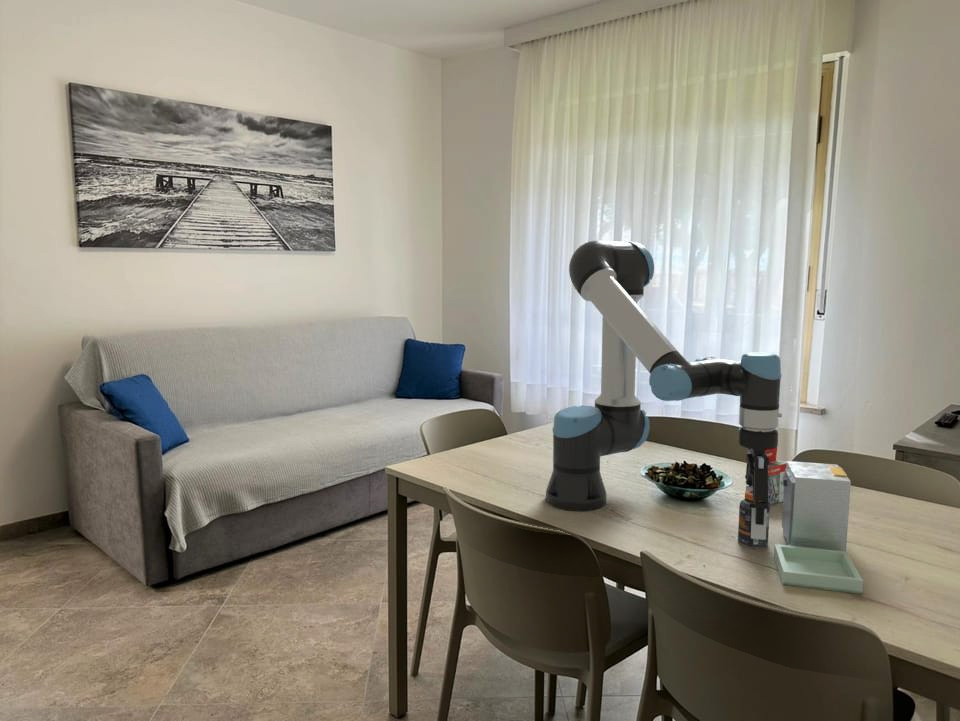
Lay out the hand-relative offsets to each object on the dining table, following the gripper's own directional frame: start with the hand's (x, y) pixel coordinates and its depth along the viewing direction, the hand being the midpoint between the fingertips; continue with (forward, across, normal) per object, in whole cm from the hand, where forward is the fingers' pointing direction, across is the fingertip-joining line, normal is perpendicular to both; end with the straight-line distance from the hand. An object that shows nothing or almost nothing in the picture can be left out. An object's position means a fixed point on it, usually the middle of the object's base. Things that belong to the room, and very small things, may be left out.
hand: (754, 526), depth 140 cm
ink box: (+4, +29, -7) cm, 30 cm away
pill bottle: (+4, 0, 0) cm, 4 cm away
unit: (+4, +3, -12) cm, 13 cm away
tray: (+4, -12, -10) cm, 16 cm away
